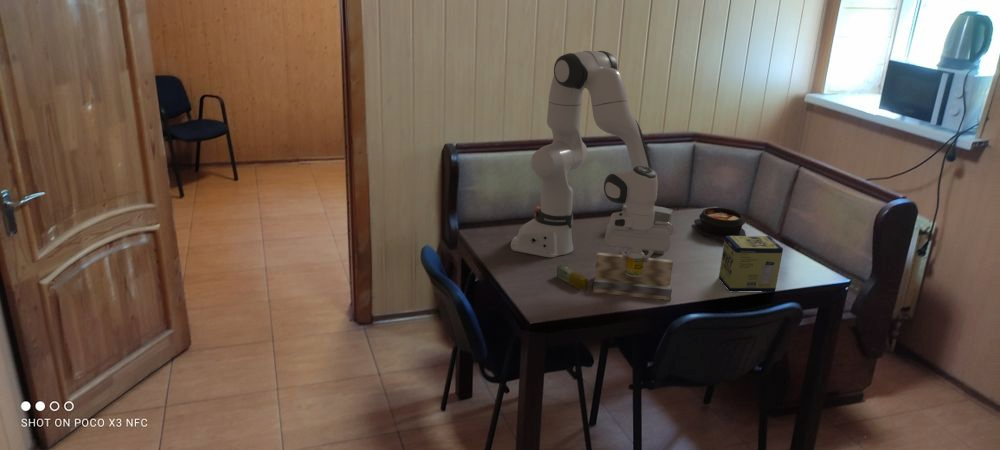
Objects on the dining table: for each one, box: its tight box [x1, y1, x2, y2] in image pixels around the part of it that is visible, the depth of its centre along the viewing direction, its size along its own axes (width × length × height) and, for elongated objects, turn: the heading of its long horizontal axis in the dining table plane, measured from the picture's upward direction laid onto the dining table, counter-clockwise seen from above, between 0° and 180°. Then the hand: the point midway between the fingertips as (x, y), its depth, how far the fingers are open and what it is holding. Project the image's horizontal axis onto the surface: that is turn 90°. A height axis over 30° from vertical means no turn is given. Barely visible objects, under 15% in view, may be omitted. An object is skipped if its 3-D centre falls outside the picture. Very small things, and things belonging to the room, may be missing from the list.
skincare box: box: [642, 205, 674, 255], centre depth 259 cm, size 8×7×16 cm
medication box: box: [556, 264, 589, 291], centre depth 233 cm, size 12×3×4 cm, turn 37°
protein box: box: [718, 235, 784, 293], centre depth 234 cm, size 10×16×16 cm
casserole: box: [693, 207, 747, 242], centre depth 278 cm, size 25×19×8 cm
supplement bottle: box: [625, 248, 645, 277], centre depth 227 cm, size 5×5×10 cm
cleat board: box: [592, 251, 674, 301], centre depth 229 cm, size 24×11×9 cm, turn 80°
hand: (634, 260), depth 227 cm, fingers closed on supplement bottle, 5 cm apart
